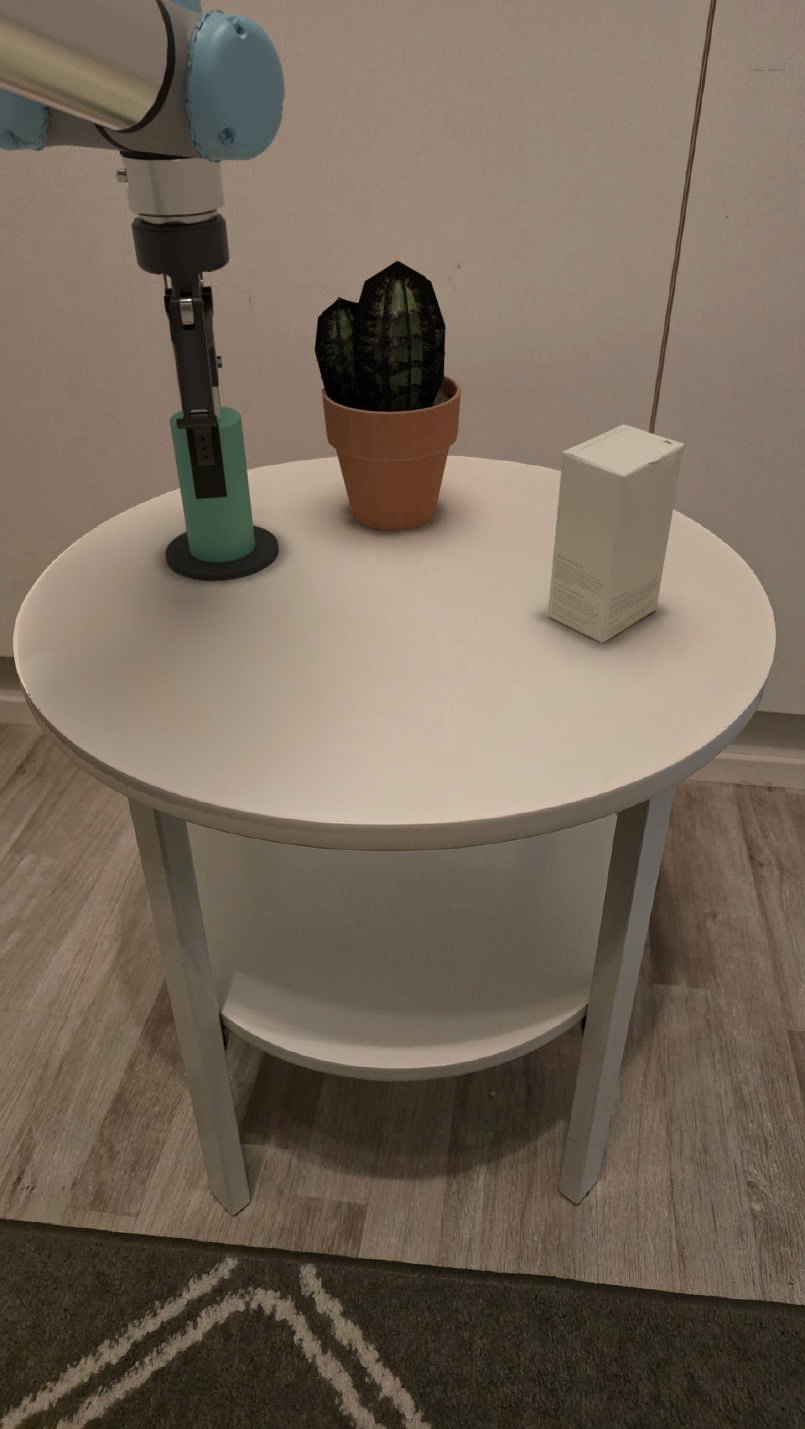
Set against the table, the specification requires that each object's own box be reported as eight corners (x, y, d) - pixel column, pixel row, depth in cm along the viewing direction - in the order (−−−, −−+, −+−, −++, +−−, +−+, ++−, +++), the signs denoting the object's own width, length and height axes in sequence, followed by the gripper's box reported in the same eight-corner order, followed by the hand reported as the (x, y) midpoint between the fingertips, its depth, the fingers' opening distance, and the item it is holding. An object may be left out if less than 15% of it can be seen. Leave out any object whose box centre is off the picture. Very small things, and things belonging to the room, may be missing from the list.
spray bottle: (190, 535, 99) (156, 320, 86) (253, 530, 100) (230, 316, 87) (189, 570, 93) (153, 345, 81) (257, 564, 94) (232, 340, 81)
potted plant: (432, 478, 111) (434, 237, 96) (477, 530, 100) (487, 267, 85) (315, 496, 108) (298, 248, 93) (348, 550, 97) (335, 281, 82)
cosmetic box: (603, 585, 91) (623, 421, 82) (662, 612, 87) (691, 442, 78) (543, 618, 87) (558, 447, 77) (603, 647, 83) (626, 472, 73)
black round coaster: (164, 585, 92) (163, 579, 92) (167, 532, 101) (166, 527, 100) (282, 574, 93) (281, 569, 93) (275, 524, 102) (274, 518, 102)
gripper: (138, 190, 88) (173, 421, 101) (119, 250, 69) (166, 528, 81) (222, 187, 89) (246, 416, 102) (228, 245, 69) (257, 521, 82)
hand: (211, 466), depth 92 cm, fingers open, 13 cm apart
